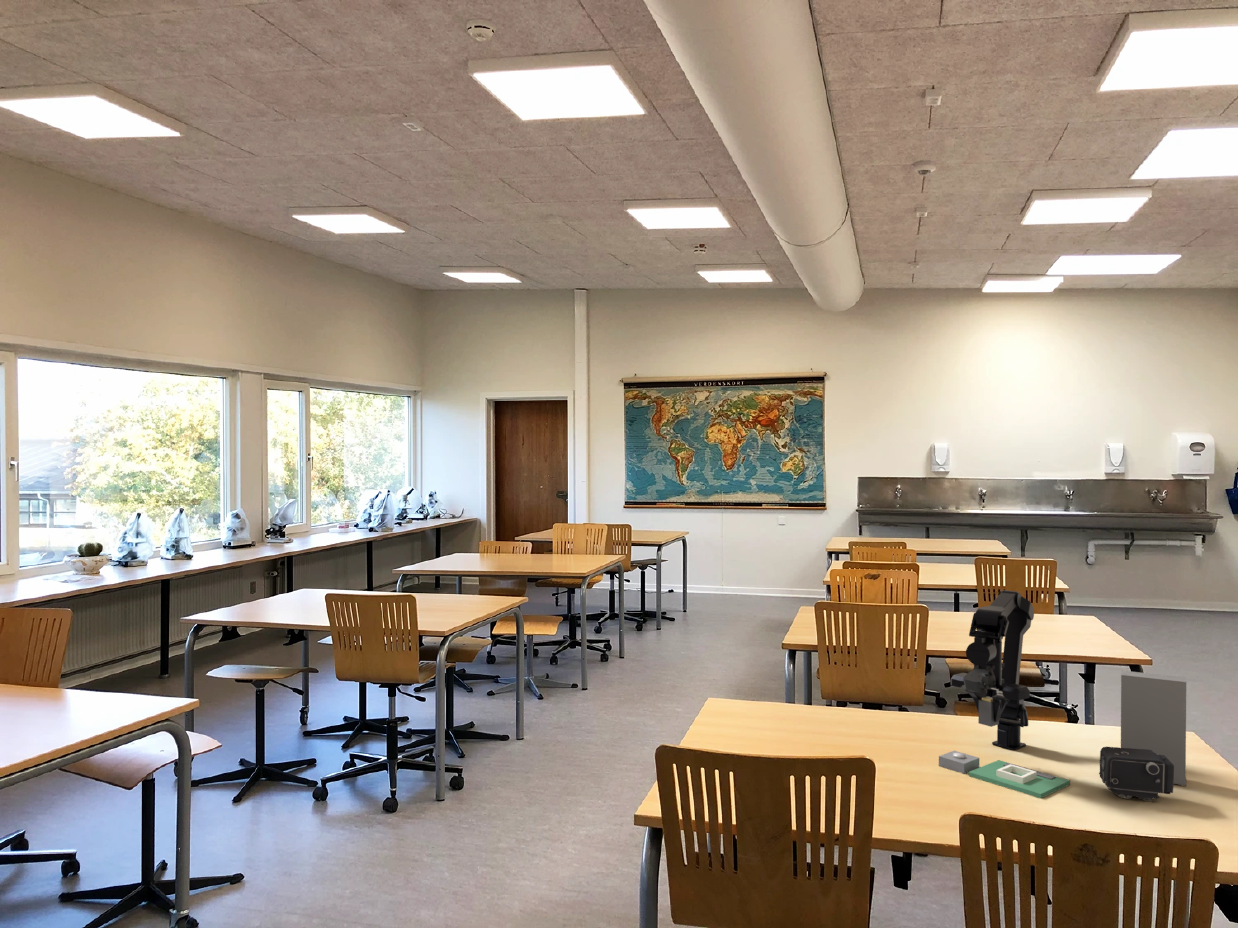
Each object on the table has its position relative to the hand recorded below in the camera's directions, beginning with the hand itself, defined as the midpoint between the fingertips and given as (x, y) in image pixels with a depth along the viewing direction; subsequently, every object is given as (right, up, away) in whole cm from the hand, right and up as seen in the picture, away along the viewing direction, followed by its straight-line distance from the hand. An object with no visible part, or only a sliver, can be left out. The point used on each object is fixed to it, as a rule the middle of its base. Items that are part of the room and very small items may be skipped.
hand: (988, 719), depth 227 cm
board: (+3, -12, -11) cm, 16 cm away
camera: (+25, -12, -22) cm, 35 cm away
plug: (0, -1, 0) cm, 1 cm away
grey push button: (-8, -11, -2) cm, 14 cm away
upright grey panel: (+36, -12, -9) cm, 39 cm away
